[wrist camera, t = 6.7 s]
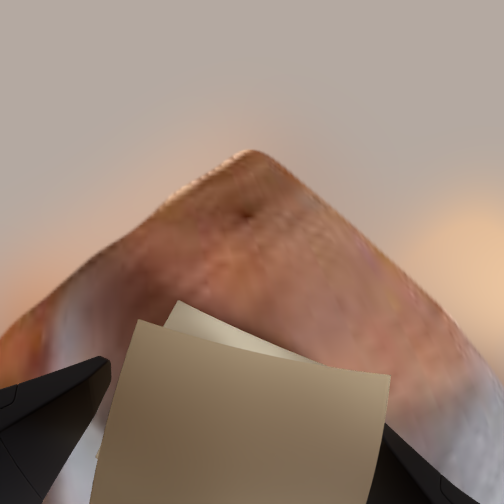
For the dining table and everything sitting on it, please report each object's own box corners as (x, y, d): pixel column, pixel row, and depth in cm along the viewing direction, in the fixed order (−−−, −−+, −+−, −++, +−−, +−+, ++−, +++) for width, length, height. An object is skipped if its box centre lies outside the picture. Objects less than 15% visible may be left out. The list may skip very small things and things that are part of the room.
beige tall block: (256, 473, 13) (335, 581, 2) (172, 453, 13) (84, 538, 2) (274, 397, 16) (390, 375, 5) (192, 377, 16) (138, 318, 5)
